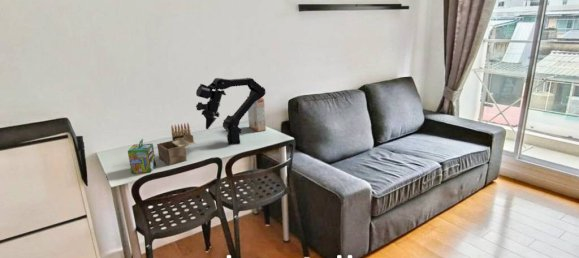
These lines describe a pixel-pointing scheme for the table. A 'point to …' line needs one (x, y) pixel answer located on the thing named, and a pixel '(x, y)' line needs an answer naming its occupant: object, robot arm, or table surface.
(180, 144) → the lid
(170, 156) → the walnut box
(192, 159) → the table surface
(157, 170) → the table surface
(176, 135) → the ammunition clip
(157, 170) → the table surface
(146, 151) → the chalk box
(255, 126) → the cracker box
